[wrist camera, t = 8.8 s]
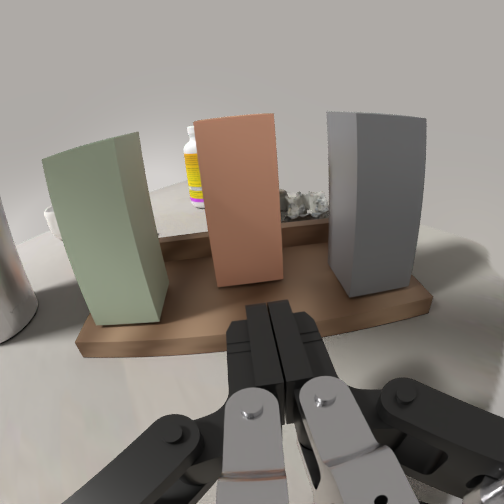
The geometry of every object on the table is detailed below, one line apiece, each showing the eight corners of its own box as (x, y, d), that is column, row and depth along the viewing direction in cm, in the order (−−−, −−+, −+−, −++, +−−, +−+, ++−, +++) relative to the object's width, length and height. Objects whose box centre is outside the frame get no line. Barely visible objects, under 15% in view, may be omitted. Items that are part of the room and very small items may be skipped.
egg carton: (270, 211, 42) (269, 184, 41) (323, 210, 41) (323, 182, 39) (263, 243, 33) (260, 208, 31) (331, 242, 32) (332, 206, 30)
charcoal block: (349, 297, 20) (356, 113, 14) (327, 262, 24) (326, 111, 19) (408, 286, 20) (426, 118, 14) (380, 255, 24) (387, 113, 19)
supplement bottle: (229, 207, 45) (220, 123, 39) (187, 211, 45) (175, 129, 39) (233, 195, 51) (225, 121, 45) (196, 198, 51) (186, 126, 45)
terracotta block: (217, 287, 22) (193, 121, 17) (217, 256, 27) (199, 120, 21) (283, 279, 22) (273, 113, 17) (273, 250, 27) (263, 113, 21)
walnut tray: (83, 357, 18) (63, 320, 17) (122, 274, 29) (113, 244, 27) (428, 312, 19) (439, 273, 18) (367, 245, 30) (370, 214, 28)
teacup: (50, 237, 43) (42, 208, 40) (88, 221, 47) (80, 193, 45) (57, 253, 36) (45, 219, 34) (101, 234, 40) (92, 200, 38)
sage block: (96, 325, 19) (41, 159, 13) (114, 287, 23) (77, 147, 18) (159, 321, 19) (113, 138, 13) (169, 282, 23) (138, 131, 18)
